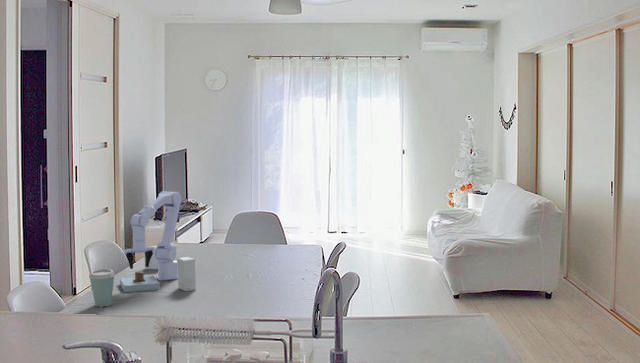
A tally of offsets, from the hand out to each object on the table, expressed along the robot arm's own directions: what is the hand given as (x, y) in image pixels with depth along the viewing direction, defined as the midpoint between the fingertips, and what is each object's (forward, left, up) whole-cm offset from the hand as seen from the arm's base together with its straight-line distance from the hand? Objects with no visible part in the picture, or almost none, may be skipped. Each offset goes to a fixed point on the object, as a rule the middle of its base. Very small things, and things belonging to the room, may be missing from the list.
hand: (139, 267), depth 324 cm
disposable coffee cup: (+20, +27, -10) cm, 35 cm away
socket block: (0, 0, -9) cm, 9 cm away
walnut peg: (0, 0, -9) cm, 9 cm away
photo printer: (-14, -37, -10) cm, 41 cm away
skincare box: (-20, +12, -10) cm, 25 cm away
